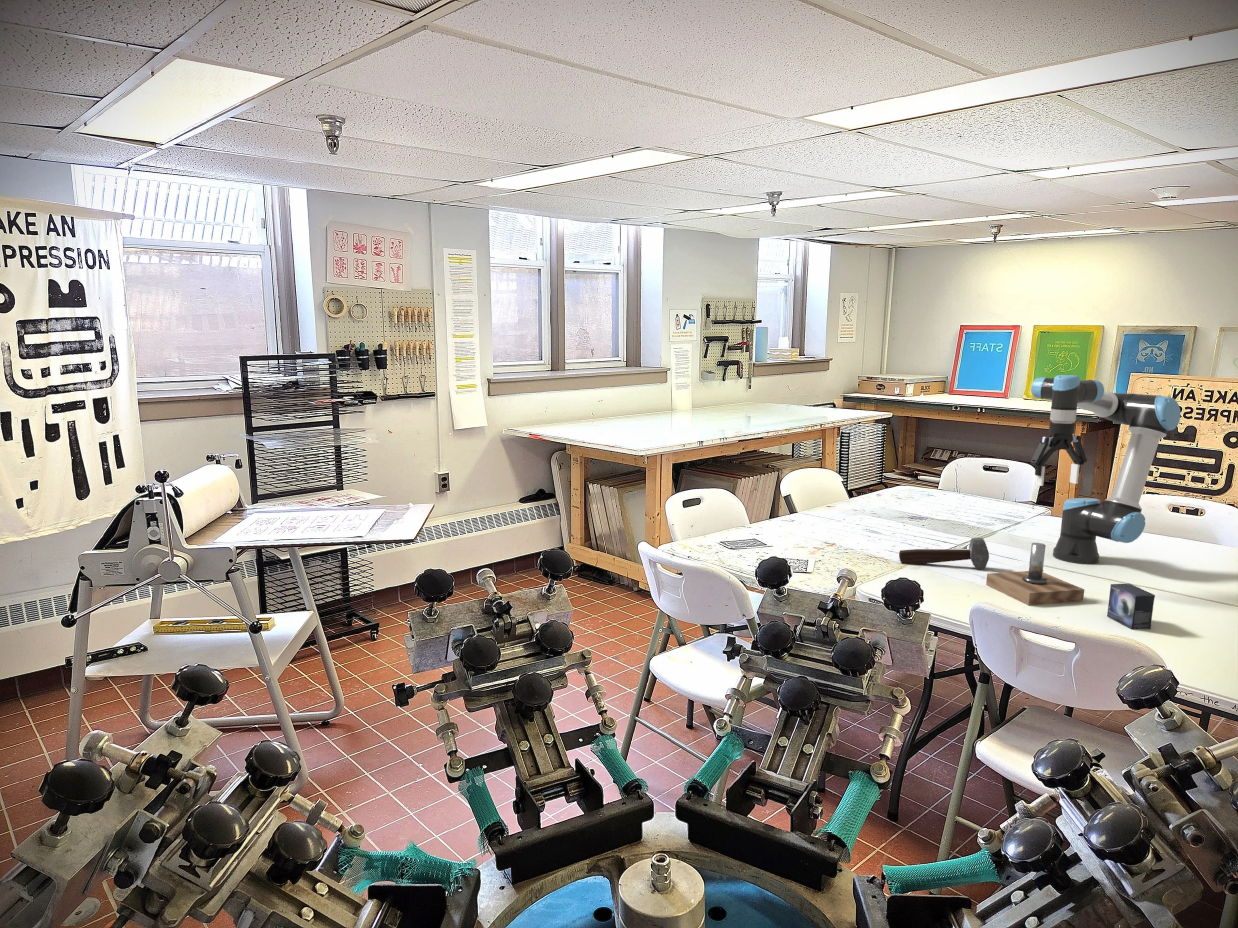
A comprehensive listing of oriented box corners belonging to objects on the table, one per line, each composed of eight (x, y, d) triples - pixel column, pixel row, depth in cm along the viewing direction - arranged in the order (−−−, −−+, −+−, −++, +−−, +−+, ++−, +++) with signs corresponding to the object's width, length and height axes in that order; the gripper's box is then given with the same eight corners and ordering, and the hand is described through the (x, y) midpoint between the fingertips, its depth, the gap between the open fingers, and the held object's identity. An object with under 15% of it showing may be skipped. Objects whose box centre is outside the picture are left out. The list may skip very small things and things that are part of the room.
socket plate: (1037, 581, 265) (1038, 570, 265) (1083, 601, 246) (1084, 589, 245) (986, 584, 261) (987, 573, 260) (1028, 605, 242) (1029, 593, 241)
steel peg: (1035, 587, 258) (1040, 541, 255) (1050, 594, 251) (1056, 546, 248) (1016, 588, 256) (1021, 541, 253) (1031, 595, 249) (1037, 547, 247)
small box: (1104, 616, 233) (1109, 583, 232) (1125, 615, 234) (1129, 582, 232) (1130, 629, 223) (1135, 595, 221) (1151, 629, 224) (1156, 594, 222)
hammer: (901, 574, 284) (989, 570, 276) (899, 544, 282) (988, 539, 275) (899, 570, 288) (986, 566, 281) (897, 541, 287) (985, 536, 280)
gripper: (1085, 419, 264) (1079, 480, 268) (1022, 421, 259) (1016, 483, 262) (1103, 421, 257) (1096, 484, 261) (1038, 424, 251) (1032, 488, 255)
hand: (1056, 484), depth 261 cm, fingers open, 13 cm apart
